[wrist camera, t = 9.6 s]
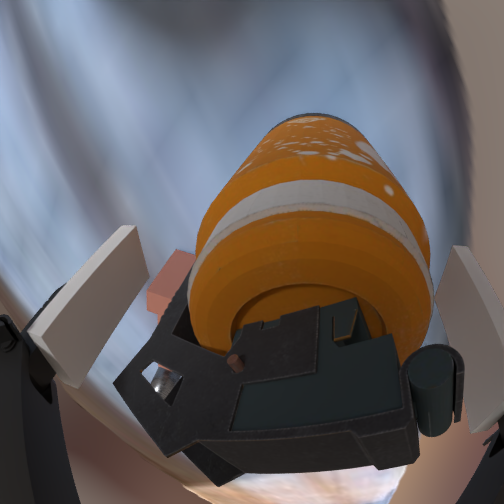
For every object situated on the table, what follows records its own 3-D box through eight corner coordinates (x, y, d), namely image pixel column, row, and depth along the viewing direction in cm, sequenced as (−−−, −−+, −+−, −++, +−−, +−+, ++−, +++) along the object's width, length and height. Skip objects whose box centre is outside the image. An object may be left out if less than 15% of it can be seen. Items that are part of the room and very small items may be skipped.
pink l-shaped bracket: (170, 338, 35) (150, 377, 30) (175, 249, 27) (146, 290, 22) (187, 344, 35) (169, 385, 30) (198, 256, 27) (173, 299, 22)
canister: (391, 204, 22) (478, 481, 5) (264, 250, 26) (186, 500, 10) (346, 92, 18) (555, 229, 2) (210, 155, 23) (3, 369, 6)
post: (160, 338, 36) (133, 390, 29) (190, 344, 35) (166, 399, 28) (167, 359, 38) (144, 408, 31) (196, 364, 37) (175, 416, 30)
